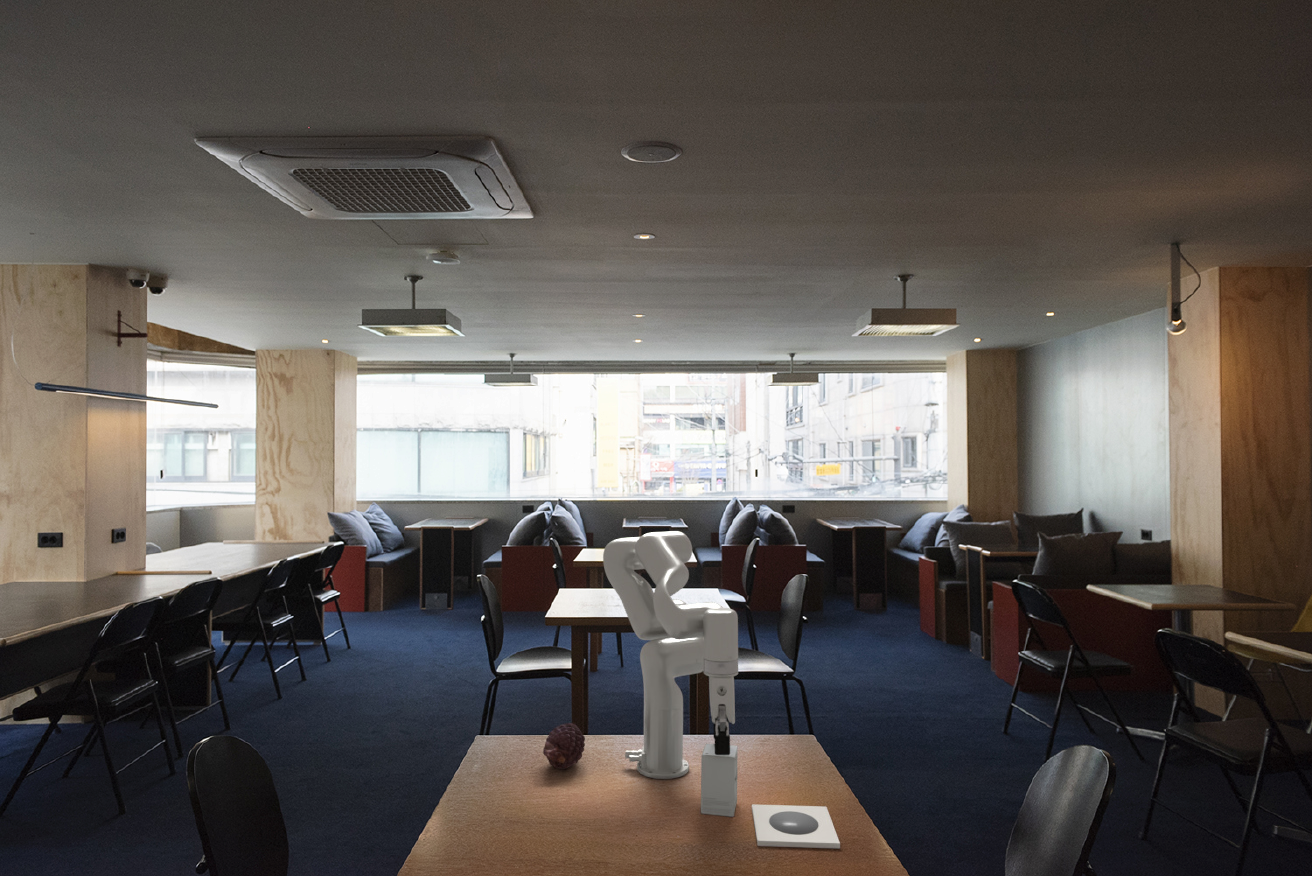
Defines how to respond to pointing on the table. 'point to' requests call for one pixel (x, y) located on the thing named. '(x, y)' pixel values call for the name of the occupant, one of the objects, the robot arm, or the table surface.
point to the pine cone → (564, 746)
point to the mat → (794, 826)
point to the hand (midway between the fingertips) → (721, 746)
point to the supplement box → (718, 781)
